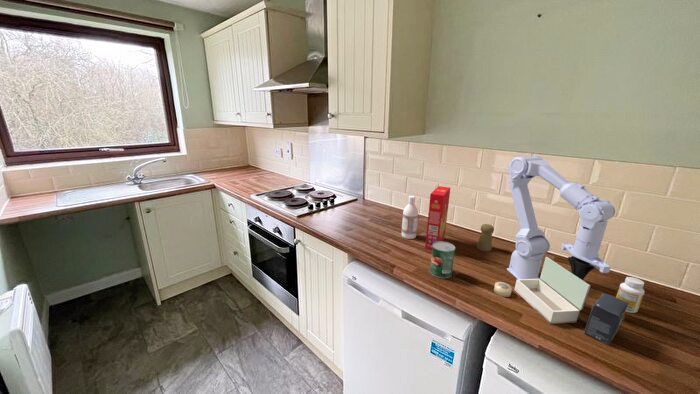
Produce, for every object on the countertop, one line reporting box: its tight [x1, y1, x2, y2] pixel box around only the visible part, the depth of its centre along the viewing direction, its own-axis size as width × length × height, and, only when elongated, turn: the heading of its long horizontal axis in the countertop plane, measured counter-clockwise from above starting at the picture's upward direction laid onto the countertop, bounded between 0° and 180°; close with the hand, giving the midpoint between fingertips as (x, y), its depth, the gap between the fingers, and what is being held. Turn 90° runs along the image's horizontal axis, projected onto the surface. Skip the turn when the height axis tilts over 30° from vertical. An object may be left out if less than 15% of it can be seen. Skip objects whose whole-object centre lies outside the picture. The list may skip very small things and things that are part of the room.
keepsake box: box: [513, 278, 580, 325], centre depth 88 cm, size 16×8×4 cm, turn 5°
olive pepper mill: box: [476, 223, 495, 252], centre depth 123 cm, size 6×6×11 cm
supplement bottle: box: [615, 276, 645, 314], centre depth 86 cm, size 5×5×10 cm
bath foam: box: [401, 195, 419, 240], centre depth 133 cm, size 7×7×20 cm
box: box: [583, 292, 628, 346], centre depth 76 cm, size 9×6×10 cm, turn 126°
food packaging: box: [424, 185, 451, 251], centre depth 125 cm, size 15×5×25 cm, turn 151°
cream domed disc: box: [493, 281, 513, 298], centre depth 94 cm, size 5×5×2 cm
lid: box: [539, 256, 591, 311], centre depth 87 cm, size 16×8×1 cm
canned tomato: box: [429, 240, 456, 279], centre depth 104 cm, size 8×8×11 cm
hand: (576, 280), depth 87 cm, fingers closed
